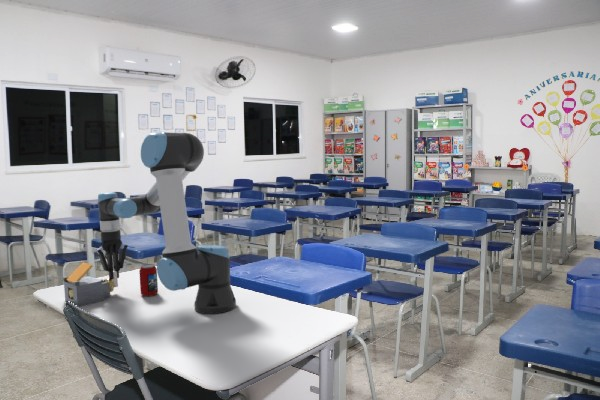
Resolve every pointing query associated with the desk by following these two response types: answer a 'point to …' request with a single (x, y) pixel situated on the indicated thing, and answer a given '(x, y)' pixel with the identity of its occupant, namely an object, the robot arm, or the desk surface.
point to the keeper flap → (79, 272)
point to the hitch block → (86, 290)
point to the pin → (103, 282)
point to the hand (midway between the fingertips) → (114, 286)
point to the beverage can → (148, 280)
